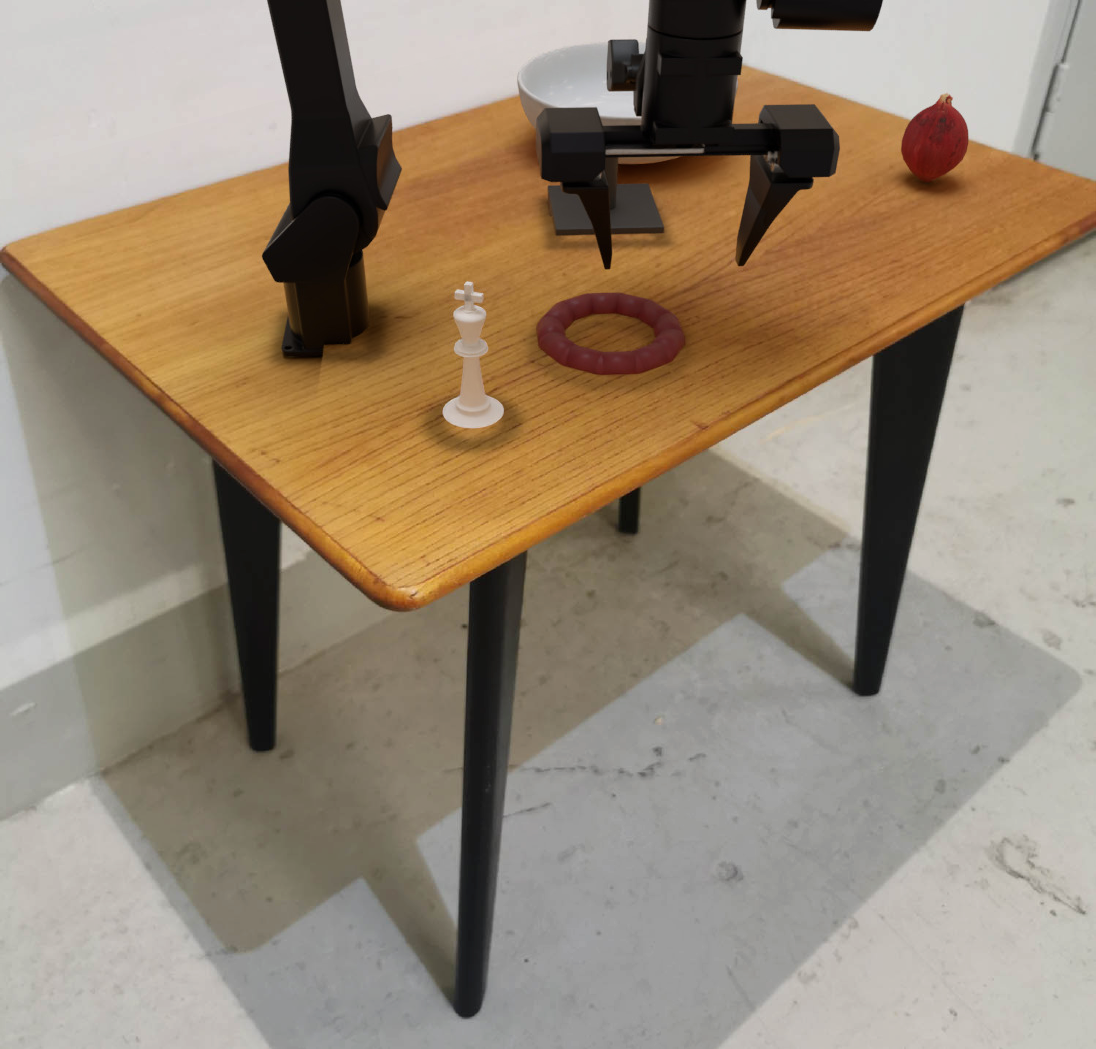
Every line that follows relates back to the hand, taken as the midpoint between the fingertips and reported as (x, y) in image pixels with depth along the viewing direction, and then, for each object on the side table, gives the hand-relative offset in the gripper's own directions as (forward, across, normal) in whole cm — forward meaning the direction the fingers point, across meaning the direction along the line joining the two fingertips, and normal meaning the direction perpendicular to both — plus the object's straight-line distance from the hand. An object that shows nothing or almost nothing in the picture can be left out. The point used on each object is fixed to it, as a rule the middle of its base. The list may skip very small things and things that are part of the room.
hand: (673, 265), depth 77 cm
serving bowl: (+6, -2, -38) cm, 39 cm away
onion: (+6, -29, -28) cm, 41 cm away
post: (+6, +2, -21) cm, 22 cm away
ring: (+5, +4, 0) cm, 7 cm away
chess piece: (+6, +14, +9) cm, 18 cm away
